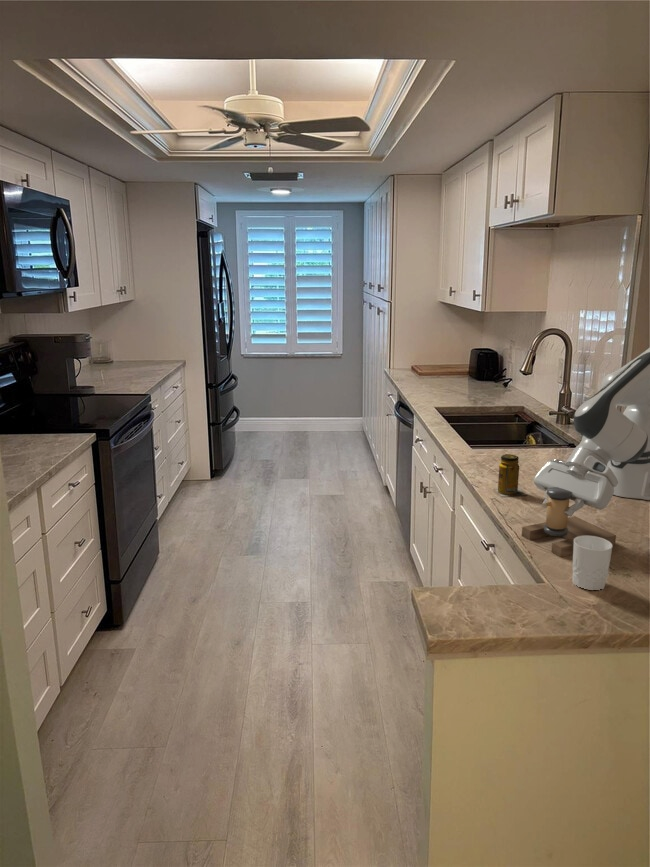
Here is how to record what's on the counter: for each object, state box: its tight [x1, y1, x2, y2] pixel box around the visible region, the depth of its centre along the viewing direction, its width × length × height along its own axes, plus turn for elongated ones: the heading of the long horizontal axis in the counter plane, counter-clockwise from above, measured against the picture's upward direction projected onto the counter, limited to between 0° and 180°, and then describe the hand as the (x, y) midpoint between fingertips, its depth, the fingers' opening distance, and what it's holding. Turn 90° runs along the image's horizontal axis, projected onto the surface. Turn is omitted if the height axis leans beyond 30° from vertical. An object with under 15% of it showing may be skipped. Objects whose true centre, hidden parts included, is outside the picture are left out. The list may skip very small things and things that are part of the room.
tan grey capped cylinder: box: [544, 487, 572, 537], centre depth 158 cm, size 7×6×11 cm
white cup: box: [571, 536, 614, 591], centre depth 138 cm, size 8×8×10 cm
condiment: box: [493, 453, 528, 497], centre depth 196 cm, size 7×8×12 cm
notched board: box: [521, 515, 617, 558], centre depth 162 cm, size 18×14×2 cm
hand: (556, 510), depth 158 cm, fingers closed on tan grey capped cylinder, 5 cm apart
